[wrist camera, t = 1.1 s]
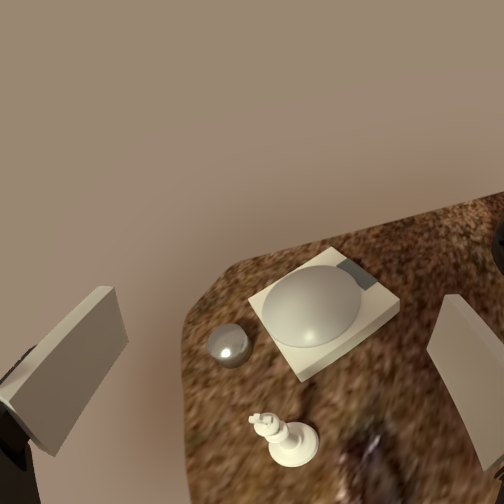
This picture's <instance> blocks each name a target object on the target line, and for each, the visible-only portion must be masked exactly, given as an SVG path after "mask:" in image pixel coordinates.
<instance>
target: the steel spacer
mask: <svg viewBox="0 0 504 504" xmlns="http://www.w3.org/2000/svg"><path fill="white" fill-rule="evenodd" d="M207 350H208V352H209V353H210V354H211V355H212V356H213V357H214V358H215V359H216V360H217V362H218V363H219V364H220V365H221V366H223V367H225V368H229V369H232V368H237V367H240V366H242V365H243V364H244V363H246V362H247V361H248V359H249V358H250V357H251V355H252V352H253V345H252V342H251V341H250V339H249V338H248V336H247V335H246V334H245V332H244V331H243V329H242V328H241V327H240V326H239V325H237V324H233V323H229V324H224V325H222V326H220V327H218V328H217V329H215V330H214V331H213V332H212V333H211V335H210V336H209V338H208V340H207Z"/></svg>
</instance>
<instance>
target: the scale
mask: <svg viewBox="0 0 504 504" xmlns="http://www.w3.org/2000/svg"><path fill="white" fill-rule="evenodd" d="M248 301H249V302H250V304H251V306H252V307H253V309H254V311H255V312H256V314H257V315H258V317H259V318H260V320H261V322H262V323H263V325H264V326H265V328H266V329H267V331H268V333H269V334H270V336H271V337H272V339H273V340H274V342H275V343H276V345H277V346H278V348H279V350H280V351H281V353H282V354H283V356H284V357H285V359H286V360H287V362H288V363H289V365H290V366H291V368H292V369H293V371H294V372H295V374H296V375H297V377H298V378H299V380H300V381H301V383H302V382H304V381H305V380H307V379H308V378H310V377H311V376H313V375H315V374H316V373H318V372H319V371H321V370H322V369H324V368H325V367H327V366H328V365H330V364H331V363H333V362H334V361H335V360H337V359H338V358H340V357H341V356H343V355H344V354H345V353H347V352H348V351H350V350H351V349H352V348H354V347H355V346H356V345H358V344H359V343H360V342H362V341H363V340H364V339H366V338H367V337H368V336H370V335H371V334H372V333H374V332H375V331H376V330H377V329H379V328H380V327H381V326H382V325H384V324H385V323H386V322H387V321H389V320H390V319H391V318H392V317H393V316H395V315H396V314H397V313H398V312H399V311H400V299H399V298H397V297H396V296H395V295H394V294H392V293H391V292H390V291H389V290H387V289H386V288H385V287H384V286H382V285H381V284H380V283H379V282H378V281H377V279H375V278H374V277H373V276H372V275H370V274H369V273H368V272H366V271H365V270H364V269H362V268H361V267H360V266H359V265H357V264H356V263H355V262H353V261H352V260H351V259H349V258H346V257H345V256H343V255H342V254H341V253H339V252H338V251H337V250H335V249H334V248H333V247H330V248H328V249H327V250H325V251H324V252H322V253H321V254H319V255H318V256H316V257H315V258H313V259H311V260H310V261H308V262H307V263H305V264H304V265H302V266H300V267H299V268H297V269H296V270H294V271H293V272H291V273H289V274H288V275H286V276H285V277H283V278H281V279H280V280H278V281H277V282H275V283H273V284H272V285H270V286H268V287H267V288H265V289H264V290H262V291H260V292H259V293H257V294H255V295H254V296H252V297H250V298H249V299H248Z"/></svg>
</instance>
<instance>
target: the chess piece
mask: <svg viewBox="0 0 504 504" xmlns="http://www.w3.org/2000/svg"><path fill="white" fill-rule="evenodd" d="M249 422H250V423H254V428H255V431H256V432H257V433H258V434H259V435H261V436H265V438H266V440H267V441H269V451H270V454H271V456H272V457H273V459H274V460H275V461H276V462H278V463H279V464H281V465H283V466H287V467H297V466H301V465H303V464H305V463H307V462H308V461H310V460H311V459H312V458H313V457H314V455H315V454H316V452H317V450H318V446H319V439H318V435H317V433H316V432H315V430H314V429H313V428H312V427H310V426H308V425H306V424H304V423H300V422H290V423H287V424H286V423H285V422H283V421H280V420H279V418H278V417H277V416H276V415H275V414H273V413H264V414H254V416H249Z"/></svg>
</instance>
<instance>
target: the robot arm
mask: <svg viewBox="0 0 504 504" xmlns="http://www.w3.org/2000/svg"><path fill="white" fill-rule="evenodd" d="M492 252H493V256H494V259H495V262H496V264H497V266H498V268H499V269H500V271H501V272H502V273H503V275H504V210H503V212H502V214H501V216H500V218H499V220H498V222H497V224H496V227H495V231H494V236H493V242H492ZM128 342H129V341H128V337H127V334H126V331H125V327H124V324H123V320H122V316H121V313H120V309H119V305H118V301H117V297H116V293H115V289H114V287H108V286H99V287H97V288H96V289H95V290H94V291H93V292H92V293H91V294H90V295H89V296H87V297H86V298H85V299H84V300H83V301H82V302H81V303H80V304H79V305H78V306H77V307H76V308H75V309H73V310H72V311H71V312H70V313H69V314H68V315H67V316H66V317H65V318H64V319H63V320H62V321H61V322H60V323H59V324H58V325H57V326H56V327H55V328H54V329H53V330H52V331H51V332H50V333H49V334H48V335H47V336H46V337H45V338H44V339H43V340H42V341H41V342H40V343H39V344H37V345H35V346H34V347H32V348H31V349H29V350H28V351H27V352H26V353H25V354H24V355H23V356H22V357H21V360H18V362H17V363H16V364H15V366H14V367H12V368H11V369H10V370H9V371H8V373H6V375H5V376H4V377H3V378H2V379H1V380H0V504H41V502H40V498H39V493H38V488H37V483H36V478H35V473H34V467H33V460H32V453H31V448H30V445H29V444H28V443H27V442H28V441H29V439H31V440H32V441H33V442H34V443H35V444H36V446H38V448H39V449H41V450H43V451H44V452H46V453H48V454H49V455H51V456H53V457H55V456H56V454H57V452H58V451H59V449H60V447H61V445H62V444H63V442H64V441H65V439H66V437H67V436H68V434H69V432H70V431H71V429H72V427H73V426H74V424H75V423H76V421H77V419H78V418H79V416H80V414H81V413H82V411H83V410H84V408H85V407H86V405H87V403H88V402H89V400H90V399H91V397H92V396H93V394H94V393H95V391H96V389H97V388H98V386H99V385H100V383H101V382H102V380H103V379H104V377H105V376H106V374H107V373H108V371H109V370H110V368H111V367H112V365H113V364H114V362H115V361H116V359H117V358H118V356H119V355H120V354H121V352H122V351H123V349H124V348H125V346H126V345H127V343H128ZM426 350H427V352H428V353H429V355H430V357H431V359H432V361H433V362H434V364H435V366H436V368H437V370H438V372H439V374H440V375H441V377H442V379H443V381H444V383H445V385H446V387H447V389H448V391H449V393H450V395H451V397H452V399H453V401H454V403H455V405H456V407H457V409H458V411H459V414H460V416H461V418H462V420H463V422H464V425H465V427H466V429H467V431H468V434H469V436H470V438H471V441H472V443H473V446H474V448H475V450H476V453H477V456H478V458H479V461H480V463H481V466H482V469H483V472H485V471H487V470H489V469H491V468H493V467H495V466H497V465H499V464H500V463H501V462H502V461H503V460H504V345H503V343H502V342H501V341H500V340H499V338H498V337H497V336H496V335H495V334H494V332H493V331H492V330H491V329H490V328H489V327H488V325H487V324H486V323H485V322H484V321H483V320H482V319H481V318H480V316H479V315H478V314H477V313H476V312H475V311H474V310H473V309H472V308H471V306H470V305H469V304H468V303H467V302H466V301H465V300H464V299H463V298H462V297H461V296H460V295H459V294H451V295H445V296H444V300H443V303H442V306H441V310H440V313H439V316H438V319H437V322H436V325H435V327H434V330H433V333H432V336H431V339H430V341H429V344H428V346H427V349H426ZM503 472H504V466H503V467H502V468H501V469H500V470H499V471H498V472H497V473H496V474H495V476H494V478H495V479H496V478H497V477H498V476H500V475H501V474H502V473H503ZM499 480H502V484H501V488H500V491H499V494H498V497H497V500H496V503H495V504H504V474H503V475H502V476H501V477H500V478H499Z"/></svg>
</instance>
